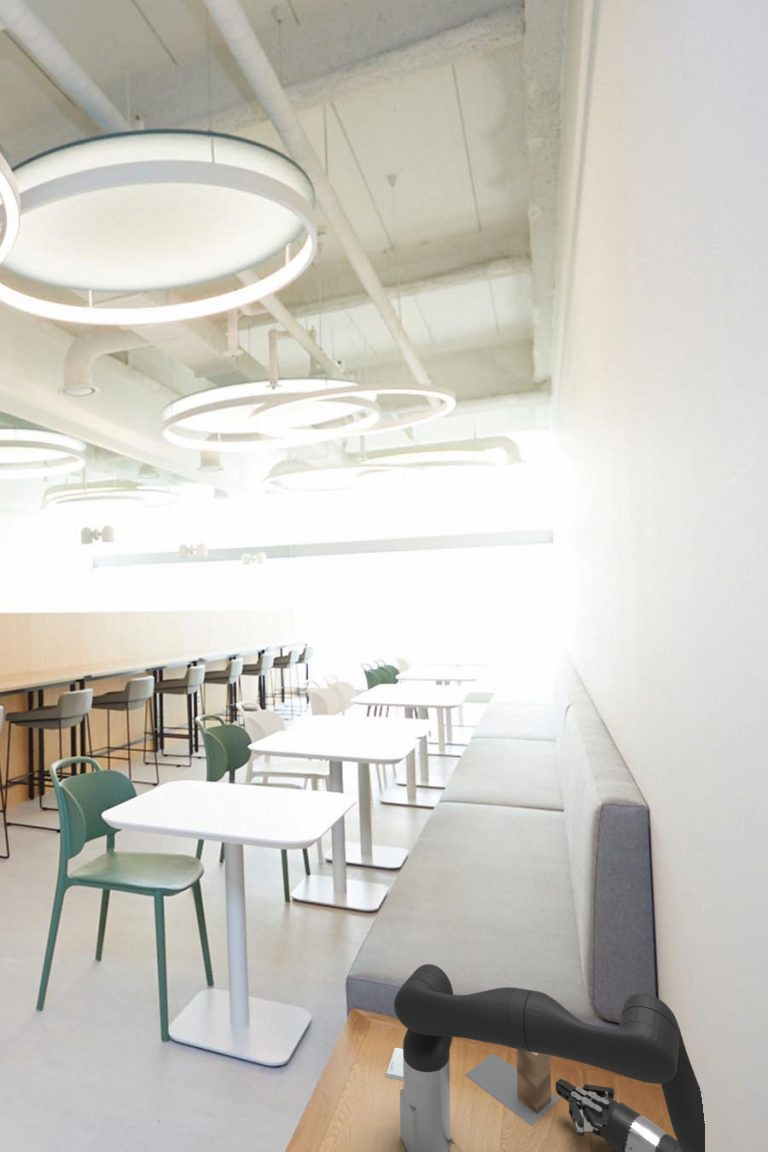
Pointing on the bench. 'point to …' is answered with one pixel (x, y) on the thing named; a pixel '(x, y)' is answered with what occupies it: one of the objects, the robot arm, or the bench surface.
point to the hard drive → (396, 1065)
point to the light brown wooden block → (533, 1079)
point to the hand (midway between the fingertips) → (557, 1084)
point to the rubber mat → (505, 1086)
